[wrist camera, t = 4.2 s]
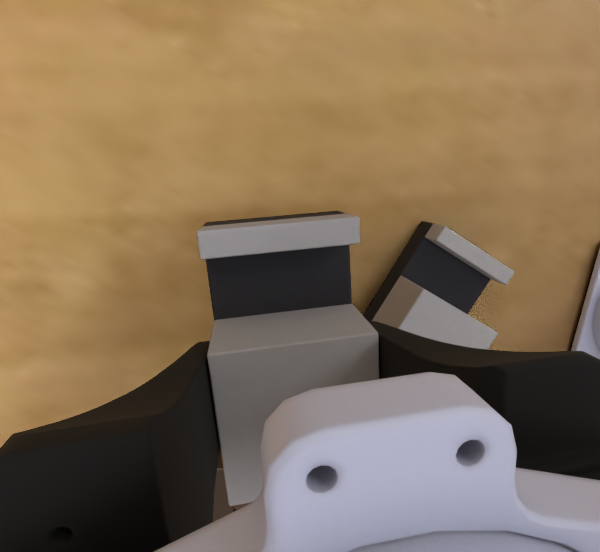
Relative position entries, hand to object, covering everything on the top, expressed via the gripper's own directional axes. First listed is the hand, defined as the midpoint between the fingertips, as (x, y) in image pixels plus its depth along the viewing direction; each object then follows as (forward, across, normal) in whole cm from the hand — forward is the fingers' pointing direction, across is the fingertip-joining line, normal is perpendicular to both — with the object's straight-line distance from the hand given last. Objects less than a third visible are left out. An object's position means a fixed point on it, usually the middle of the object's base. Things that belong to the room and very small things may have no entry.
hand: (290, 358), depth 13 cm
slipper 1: (+1, 0, -1) cm, 2 cm away
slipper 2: (+7, -8, +1) cm, 11 cm away
